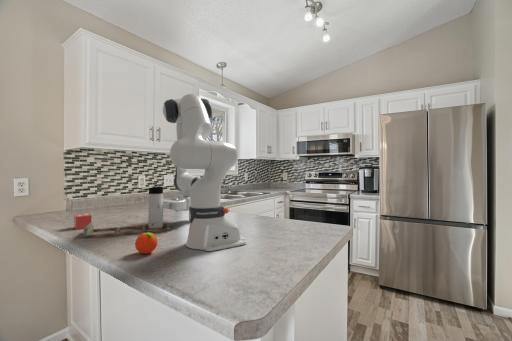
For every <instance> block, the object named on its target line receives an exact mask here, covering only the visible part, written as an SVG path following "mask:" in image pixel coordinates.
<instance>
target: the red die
mask: <svg viewBox="0 0 512 341" xmlns="http://www.w3.org/2000/svg"><path fill="white" fill-rule="evenodd" d="M90 223H92V214H90V213H82V214H81V213H80V214H73V228H74V230H75V231H77V230H84V228H85V227H86V226H87V225H88V224H90Z"/></svg>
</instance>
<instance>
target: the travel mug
mask: <svg viewBox="0 0 512 341" xmlns="http://www.w3.org/2000/svg"><path fill="white" fill-rule="evenodd" d="M163 198H164V187H163V186H161V185H160V186H157V187H148V225H149V227H148V230H152V229H164V226H163V224H164V208H158V204H163Z"/></svg>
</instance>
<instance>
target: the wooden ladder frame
mask: <svg viewBox="0 0 512 341" xmlns="http://www.w3.org/2000/svg"><path fill="white" fill-rule="evenodd" d="M164 227H166V228H164ZM146 228H149V224H143V225H129V226H127V225H126V226H115V227H102V228H95V224H94V222H91V223H90V224H88V225H87V226H86V227H85V228H84V229H83V239H93V238H103V237H104V238H105V237H106V238H107V237H117V236H125V235H136V234H137V235H138V234H139V235H140V234H142V233H146V232H150V233H159V232H160V233H161V232H170V231H171V227H170V224H169V222H168V223H163V229H152V230H149V229H146ZM134 229H141V230H134ZM121 230H129V231H121ZM105 231H106V232H107V233H98V232H105ZM109 231H114V232H109ZM120 231H121V232H120ZM95 232H97V233H96V234H93V233H95Z"/></svg>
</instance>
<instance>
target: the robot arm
mask: <svg viewBox="0 0 512 341" xmlns="http://www.w3.org/2000/svg"><path fill="white" fill-rule="evenodd" d="M162 114H163V116H164V118H165V120H166V121H167V123H171V124H176V127H175V130H176V140H175V141H174V142H173V144H172V145H171V147H170V150H169V159H170V161H171V163H172V164H173V166H175V175H174V179H173V185H174V188H175V190H177V191H179V192H183V193H175V194H174V195H173V196H172V197H171V198H166V197H163V204H158V208H163V209H167V210H174V211H175V212H182V211H185V212H188V220H189V221H188V222H189V229H188V234H187V240H186V243H185V246H186V247H187V248H189V249H193V250H202V251H207V252H213V251H219V250H224V249H229V248H234V247H238V246H239V247H241V246H243V245H246V244H247V239H246V237H245V236H244V235H241V231H240V228H239V225H238V224H236V223H235V222H234V221H233V220H232V219H231V218H230V217H228V216H226V214H229V213H230V209H229V208H228V207H224V206H222V205H221V192H222V185H223V181H224V178H225V176H226V174H227V173H228V172H229V171H230V170H231V169H232V168H234V166H235V165H236V163H237V162H238V150H237V148H236V146H234V145H233V144H232V143H230V142H229V143H228V142H227V141H226V142H225V141H221V140H220V141H217V140H206V139H207V138H208V137H209V136H210V135H211V134H212V131H213V130H212V129H213V126H212V123H211V120H210V119H212V117H213V107H212V104H211V102H210V101H209V99H206V98H200V97H199V95H196V94H194V93H188V94H185V95H184V96H182V97H181V98H175V99H172V98H171V99H166V100H165V101H164V103H163V106H162ZM188 170H204V173H203V175H202V177H201V176H198V175H195V174H190V173H189V171H188Z"/></svg>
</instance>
